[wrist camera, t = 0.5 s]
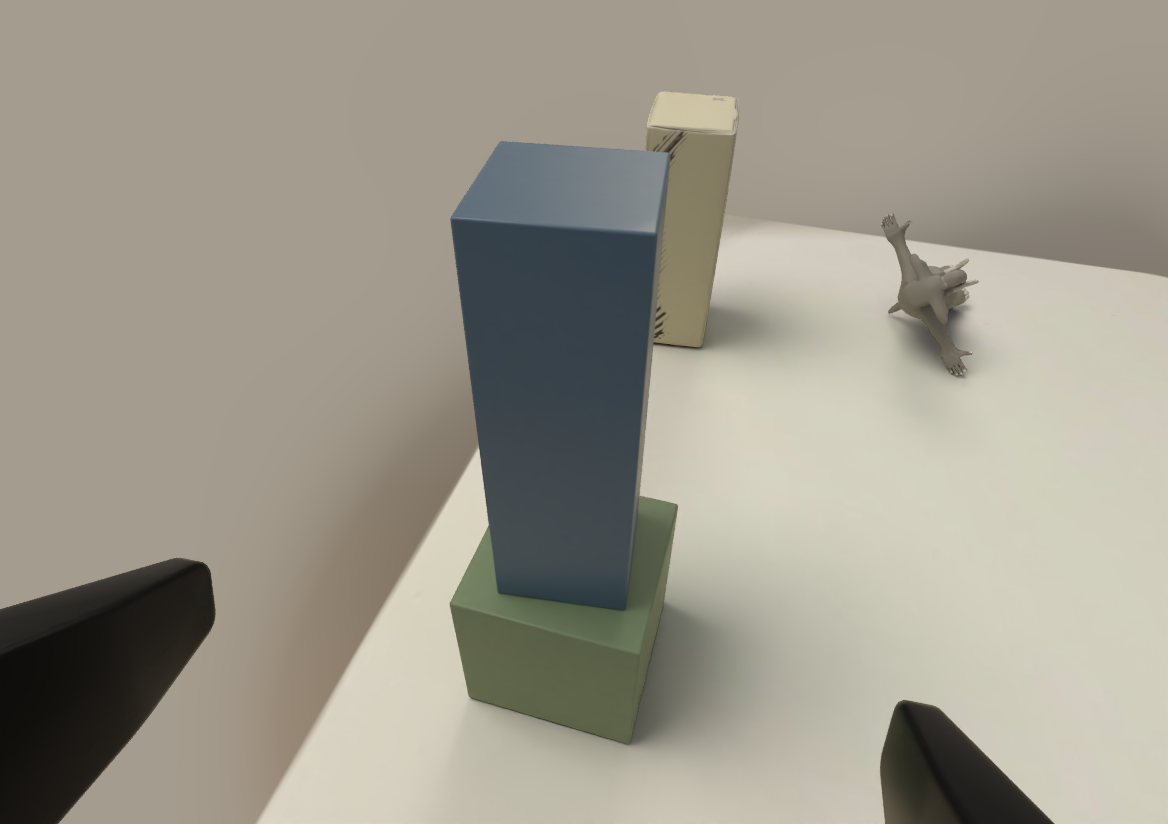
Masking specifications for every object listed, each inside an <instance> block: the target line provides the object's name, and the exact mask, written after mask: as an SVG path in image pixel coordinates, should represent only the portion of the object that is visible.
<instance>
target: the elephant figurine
mask: <svg viewBox="0 0 1168 824" xmlns="http://www.w3.org/2000/svg"><path fill="white" fill-rule="evenodd" d="M890 217H891V219H892V222H891V220H890ZM882 219H883V222H884V223H883V222H881V226H882V228H883V229H884V232H885V235H886V238H887V240H888V241H889V242H890V243H891V244H892V245H893V247H894V248H895V251H896V254H897V257H898V260H899V264H900V267H901V272H902V281H901V287H900V290H899V294H898V301H899V302H898V303H896V304H895V305H894V306H893V307H891V308H890V309H889V311H888V313H889V314H890V313H893V312H896V311H898V310H901V309H902V310H903V311H904V312H905V313H907V314H909V315H911V316H913V317H916V318H919V319H921V320H922V321H923V322H925V324H926V325H927V326H928V328H929V330H930V332H931V333H932V335H933V337H934V338H935V339H936V341H937V342H938V344H939V345H940V348H941V357H942V360H943V361H944V363H945V364H946V366H947V367H948V369H949V370H950V373H951V374H953V373H955V375H956V376H957V375H959V374H960V375H962V374H963V372H966V371H967V369H966V368H965V366H964V365H963V363H962V361H961V359H960V357H961V356H964V355H971V354H972V352H968V351H961V350H959V349H957V348H956V347H955V346H954V344H953V342H952V340H951V338H950V336H949V333H948V330H947V327H946V323H947V322H948V310H949V309H951V308H952V307H953V306H957V305H960V304H962V303H963V302H965V301H966V300H967V299H968V298H969V295H968V294H969V292H968V291H965V290H966V289H965V287H967V286H970V285H973V284H976V283H978V282H979V281H978V280H973V281H968V282H966V280H967V275H966V273H965V272H964V271H963V270H960V268H961V267H963V266H964V265H965V264H966V263H968V261H969V259H965V260H964V261H962V262H960V263H959V264H957V265H956V266H953V265H950V266H944V267H941V268H939V267H933V266H929V267H928V266H927V264H926V262H924V261H923V260H920V259H919V257H918V256H917V255H916V254H912V255H911V254H910V251H909V249H908V247H907V245H906V242H905V237H904V235H905V230H906V229H907V228H908V226H909V224H910V223H911V222H912V221H908V222H906V223H905V224H904V225H903V226H901V227H898V224H897V222H896V220H895V217H894V214H891V215H890V216H889V215H886V219H887V222H888V224H887V222H886V219H885V217H884V218H882ZM958 269H959V270H958ZM963 282H964V283H963ZM966 295H967V296H966ZM959 365H960V366H959ZM955 367H956V369H957V370H958V372H959V374H958V372H957V370H956V369H955ZM960 367H961V368H962V370H963V372H962V370H961V369H960ZM952 369H953V370H952Z"/></svg>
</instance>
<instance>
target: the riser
mask: <svg viewBox="0 0 1168 824" xmlns="http://www.w3.org/2000/svg"><path fill="white" fill-rule="evenodd" d="M677 510H678V505H677V504H674V503H669V502H665V501H660V500H656V499H651V498H647V497H642V496H639V506H638V515H637V523H636V531H635V539H634V547H633V555H632V563H631V571H630V579H629V587H628V595H627V603H626V608H625V610H618V609H611V608H603V607H596V606H589V605H582V604H575V603H567V602H560V601H553V600H546V599H539V598H531V597H524V596H517V595H510V594H503V593H498V592H497V585H496V577H495V569H494V561H493V553H492V545H491V537H490V529H489V526H488V528H487V530H486V532H485V534H484V536H483V538H482V540H481V542H480V544H479V546H478V548H477V550H476V552H475V554H474V556H473V558H472V560H471V562H470V564H469V566H468V568H467V570H466V572H465V574H464V576H463V578H462V580H461V582H460V584H459V586H458V588H457V590H456V592H455V594H454V596H453V598H452V600H451V602H450V608H451V613H452V618H453V623H454V627H455V632H456V637H457V642H458V647H459V651H460V656H461V661H462V666H463V671H464V675H465V680H466V685H467V690H468V695H469V697H471V698H474V699H477V700H481V701H484V702H487V703H491V704H494V705H498V706H501V707H504V708H508V709H511V710H514V711H518V712H521V713H525V714H528V715H531V716H535V717H538V718H541V719H545V720H548V721H551V722H555V723H558V724H562V725H565V726H568V727H572V728H575V729H578V730H582V731H585V732H589V733H592V734H595V735H599V736H602V737H605V738H609V739H612V740H616V741H619V742H622V743H626V744H629V743H630V741H631V737H632V733H633V729H634V725H635V720H636V716H637V712H638V708H639V704H640V700H641V695H642V691H643V687H644V683H645V679H646V674H647V670H648V666H649V662H650V658H651V654H652V649H653V645H654V641H655V637H656V633H657V628H658V624H659V620H660V616H661V612H662V608H663V603H664V598H665V591H666V584H667V577H668V571H669V564H670V557H671V550H672V544H673V537H674V530H675V523H676V517H677Z"/></svg>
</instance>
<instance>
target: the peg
mask: <svg viewBox="0 0 1168 824" xmlns="http://www.w3.org/2000/svg"><path fill="white" fill-rule="evenodd" d="M670 157H671V156H670V154H669V153H667V152H652V151H637V150H623V149H608V148H592V147H578V146H564V145H548V144H534V143H519V142H504V141H501V142H499V144H498V145H497V147H496V148H495V150H494V151H493V153H492V154H491V156H490V158H489V159H488V161H487V162H486V164H485V166H484V167H483V168H482V170H481V171H480V173H479V175H478V176H477V178H476V179H475V181H474V182H473V184H472V185H471V187H470V188H469V190H468V191H467V193H466V195H465V196H464V198H463V199H462V201H461V202H460V204H459V205H458V207H457V209H456V210H455V212H454V213H453V215H452V216H451V219H450V220H451V227H452V236H453V244H454V250H455V259H456V267H457V275H458V283H459V291H460V299H461V307H462V315H463V323H464V331H465V339H466V347H467V355H468V363H469V370H470V378H471V386H472V394H473V402H474V410H475V418H476V426H477V434H478V442H479V450H480V458H481V466H482V474H483V482H484V490H485V498H486V506H487V513H488V521H489V529H490V537H491V545H492V553H493V561H494V569H495V577H496V585H497V592H498V593H503V594H510V595H517V596H524V597H531V598H539V599H546V600H553V601H560V602H567V603H575V604H582V605H589V606H596V607H603V608H611V609H618V610H625V608H626V603H627V595H628V587H629V579H630V571H631V563H632V555H633V547H634V539H635V531H636V523H637V515H638V506H639V495H640V484H641V473H642V462H643V451H644V440H645V429H646V419H647V408H648V397H649V386H650V375H651V364H652V353H653V342H654V331H655V320H656V309H657V299H658V288H659V277H660V266H661V255H662V244H663V233H664V222H665V211H666V200H667V189H668V179H669V168H670Z"/></svg>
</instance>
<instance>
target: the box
mask: <svg viewBox="0 0 1168 824" xmlns="http://www.w3.org/2000/svg"><path fill="white" fill-rule="evenodd" d="M738 117H739V99H738V98H735V97H727V96H712V95H697V94H687V93H675V92H660V93H658V95H657V97H656V99H655V102H654V105H653V107H652V109H651V112H650V116H649V119H648V124H647V136H646V151H652V152H667V153H669V154H670V156H671V157H670V168H669V179H668V189H667V200H666V211H665V222H664V233H663V244H662V255H661V266H660V277H659V288H658V299H657V309H656V320H655V331H654V342H657V343H665V344H672V345H681V346H691V347H701V346H702V344H703V340H704V334H705V328H706V322H707V316H708V310H709V305H710V299H711V293H712V287H713V281H714V276H715V269H716V263H717V256H718V250H719V244H720V238H721V232H722V226H723V220H724V214H725V207H726V201H727V195H728V187H729V182H730V175H731V169H732V161H733V155H734V148H735V140H736V134H737V126H738Z"/></svg>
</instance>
